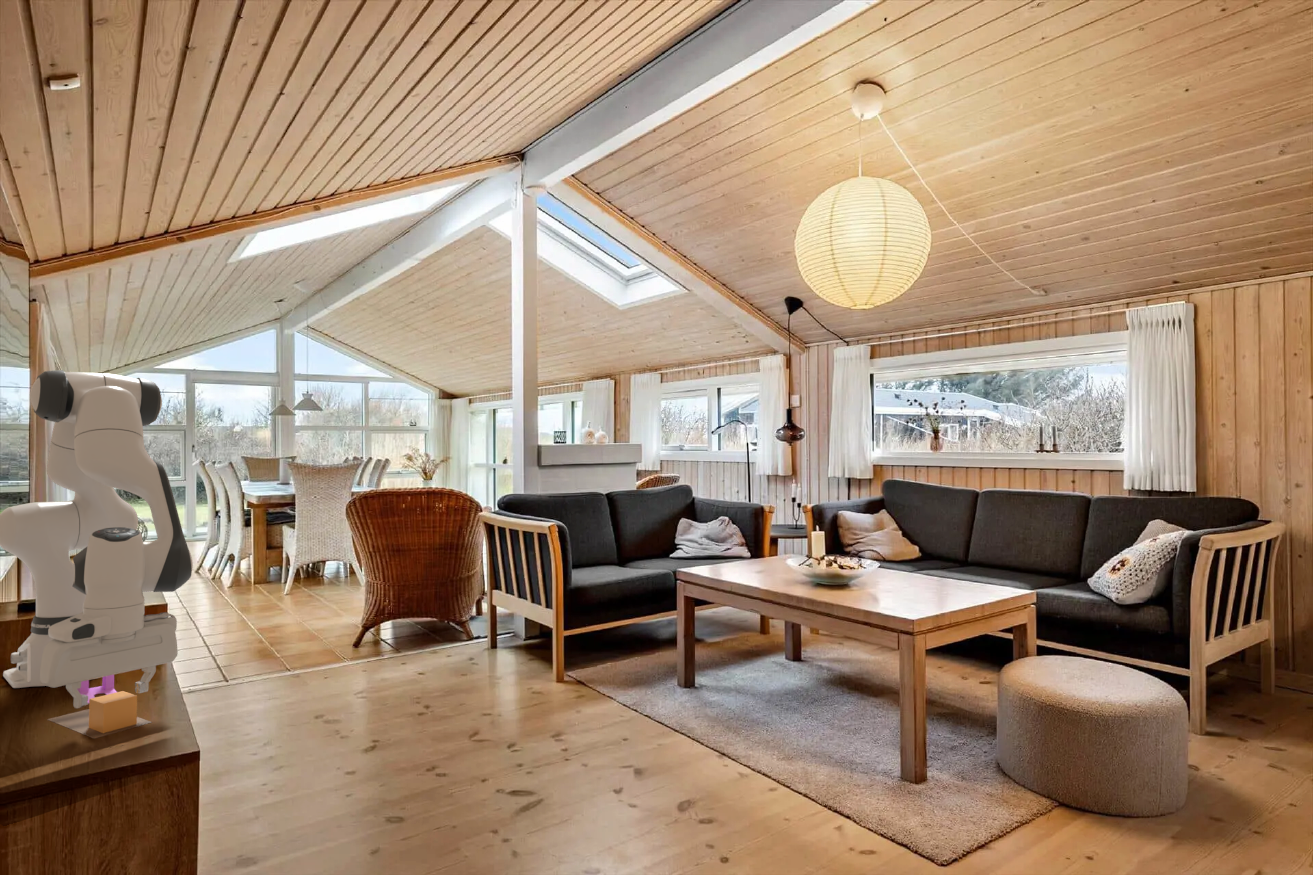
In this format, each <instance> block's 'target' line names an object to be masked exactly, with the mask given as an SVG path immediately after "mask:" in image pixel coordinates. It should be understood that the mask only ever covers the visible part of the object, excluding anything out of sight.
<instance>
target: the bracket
mask: <svg viewBox="0 0 1313 875" xmlns="http://www.w3.org/2000/svg"><path fill="white" fill-rule="evenodd" d="M101 682H102V683H101V685H100V686H95V687H90V680H87V681H82V682H81V688H77V690H78V691H79V693H80V694H81V695H83V694H84V695H87V696H88V701H87V702H88V704H89V699H91V698H95V696H96V695H98V694H105V695H108V694H112V693H116V692H118V691H117V690H116V689H115V674H114V675H109V676H105V677H102V681H101Z"/></svg>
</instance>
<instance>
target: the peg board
mask: <svg viewBox="0 0 1313 875" xmlns="http://www.w3.org/2000/svg"><path fill="white" fill-rule="evenodd" d="M46 720H47V721H50V722H51V723H55V724H57V725H59V726H62V727H65V728H66V729H69V730H71V731H74V732H76V733H79V734H82V735H84V736H87V737H89V738H91V739H98V738H101V737H105V736H109V735H112V734H116V733H120V732H123V731H127V730H130V729H133V728H138V727H141V726H144V725H147V724H152V723H153V722H152V721H150V720H147V719H144V718H141V717H139V716H137V724H135V725H131V726H127V727H124V728H120V729H116V730H113V731H109V732H106V733H101V732H99V731H96V730H94V729H91V728H89V708H88V709H84V710H79V711H75V712H71V713H67V714H63V715H60V716H55V717H51V718H48V719H46Z"/></svg>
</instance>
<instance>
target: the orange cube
mask: <svg viewBox="0 0 1313 875" xmlns="http://www.w3.org/2000/svg"><path fill="white" fill-rule="evenodd" d="M88 709H89V728H91V729H94V730H96V731H99V732H101V733H106V732H109V731H113V730H116V729H120V728H124V727H127V726H131V725H135V724H137V717H138V695H137V694H133V693H130V692H126V691H124V690H122V691H117V692H116V693H112V694H108V695H106V694H105V695H99V696H96V697H95V698H91V699H89V703H88Z"/></svg>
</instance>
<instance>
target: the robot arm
mask: <svg viewBox="0 0 1313 875" xmlns="http://www.w3.org/2000/svg"><path fill="white" fill-rule="evenodd" d="M29 393H30V394H29V400H30V404H31V406H32V410H33V412H34V414H35V415H37V416H38V417H39V418H40V419H43V420H45V421H50V422H54V426H53V428H52V429H53V430H52V434H51V438H50V446H49V450H48V458H47V463H46V464H47V465H46V473H47V476H48V478H49V479H50V480H51V482H52V483H54V484H56V485H57V486H59V487H60V488H64V489H66V490H70V491H72V492H74V498H73V499H72V500H62V501H61V500H60V501H38V502H29V503H23V504H17V505H13V506H9V507H6V508H5V509H3V510H2V511H1V512H0V547H1V548H2V550H4V551H5V552H8V553H9V554H11V555H13V556H15V557H16V558H18V559H19V561H21V562H22V563H24V565H25V566H26V567H27V569H28V570H29V572H30V573H31V576H32V579H33V584H34V592H35V615H34V616H33V618H32V621H31V624H30V626H31V628H30V632H31V633H30V635H29V636H28V637H27V638H26V640H24V641H23V643H22V644H21V645H20V646H19V647H18V649H17V652H16V651H14V652H12V653H11V654H10V663H11V664H16V667H12V668H9V669H7V670H3V673H2V676H3V678H4V680H6V681H7V682H8V684H9V685H10V686H11V687H12V688H13V689H20V688H21V689H22V688H29V687H45V686H46V687H50V688H54V689H55V688H58V687H62V686H63V687H64V686H65V689H66V690H67V692H68V693H69V694H70V695H71V696H72V698H73V702H72V704H73V707H74V709H80V708H83V707H87V706H88V707H89V703H88V702H87V701H88V696H87V695H84V694H83V695H81V694H80V693H79V691H78V690H77V688H81V682H82V681H87V680H89V681H91V680H95V679H100V678H103V677H105V676H109V675H114V676H115V675H117V674H123V673H129V672H132V671H137V670H140V669H141V672H143V674H142V676H141V678H140V680H138V681H136V682H134V686H135V688H134V691H135V693H136V694H142V693H147V692H148V691H149V686H150V685H149V682H151V679H152V678H153V677H154V675H155V674H156V671H157V666H159V665H164V664H168V663H172V662H174V661H175V660H176V658H177V657H178V655H179V654H178V651H179V650H178V640H177V635H176V632H177V622H178V621H177V618H176V616H175V615H174V614H171V613H169V612H160V613H155V614H154V613H153V614H146V615H145V601H146V600H145V596H144V593H147V592H149V593H150V592H153V593H166V592H167V593H169V592H170V593H171V592H172V593H174V592H175V591H177V590H179V588H181V587H182V586H184V585H185V584H186V583H187V582H189V580H190V579H191V577H192V572H193V568H194V567H193V566H194V565H193V563H194V562H193V557H192V554H191V551H190V549H189V547H188V544H187V540H186V538H185V535H184V532H183V529H182V528H183V527H182V524H181V521H180V517H179V511H178V509H177V508H178V507H177V505H176V501H175V497H174V493H173V489H172V486H171V482H170V480H169V477H168V474H167V472H166V470H165V468H164V466H163V465H162V464H161V463H159V462H157V461H154V460H153V459H152V457H151V456H150V455H149V453H148V451H147V449H146V446H145V442H144V428H143V427H146V426H149V425H151V424H152V423H154V422H155V421H157V419H158V416H159V414H160V412H161V409H162V406H163V399H162V395H161V390H160V388H159V386H158V384H156V383H155V382H154V381H151V380H148V379H146V378H140V377H136V378H133V377H131V376H130V377H129V376H126V375H120V374H114V373H106V372H101V373H100V372H99V373H98V372H86V371H85V372H83V371H64V370H63V369H60V370H59V369H57V370H46V371H43V372H41V373H40V374H39V375H38V376H37V377H36V380H35V381H34V382H33V384H32V385H31V388H30V392H29ZM115 489H118V490H122V491H126V492H128V493H131V494H133V495H136V496H138V497H139V498H141V499H143V500H144V501H145V502H146V503H147V504H148V507H149V510H150V512H151V513H150V514H151V517H152V521H153V524H154V525H153V526H154V529H155V533H156V537H157V539H154V540H147V541H145V540H144V541H143V535H142V533H141V531H139V530H138V526H139V517H138V514H137V512H136V510H135V508H134V507H133V506H132V505H131V504H130V503H129V502H128V501H125V500H124V499H123V498H121V496H120V495H119V494H118V493H117V492H116V490H115ZM75 550H76V551H77V550H80V551H79V552H78V553H77V554H76V555H74V556H73V558H72V560H73V562H72V561H71V559H70V555H69V552H70V551H75Z"/></svg>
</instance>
